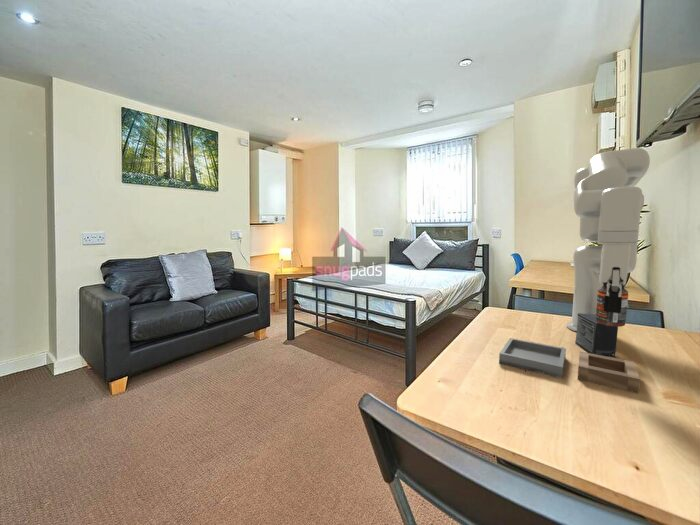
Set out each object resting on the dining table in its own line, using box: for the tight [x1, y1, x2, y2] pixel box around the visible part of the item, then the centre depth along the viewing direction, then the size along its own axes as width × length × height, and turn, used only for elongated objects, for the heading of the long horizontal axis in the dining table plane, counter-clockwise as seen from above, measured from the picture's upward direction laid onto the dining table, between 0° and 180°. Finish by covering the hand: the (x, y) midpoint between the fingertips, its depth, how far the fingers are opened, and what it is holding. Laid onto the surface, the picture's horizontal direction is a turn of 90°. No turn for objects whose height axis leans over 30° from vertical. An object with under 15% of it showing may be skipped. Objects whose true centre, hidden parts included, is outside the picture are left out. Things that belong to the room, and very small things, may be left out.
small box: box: [574, 313, 619, 358], centre depth 96 cm, size 11×6×10 cm, turn 168°
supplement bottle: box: [595, 281, 629, 328], centre depth 78 cm, size 6×6×11 cm
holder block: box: [577, 351, 641, 394], centre depth 79 cm, size 12×12×4 cm
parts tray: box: [498, 337, 567, 379], centre depth 89 cm, size 15×15×3 cm
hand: (611, 308), depth 78 cm, fingers closed on supplement bottle, 6 cm apart
